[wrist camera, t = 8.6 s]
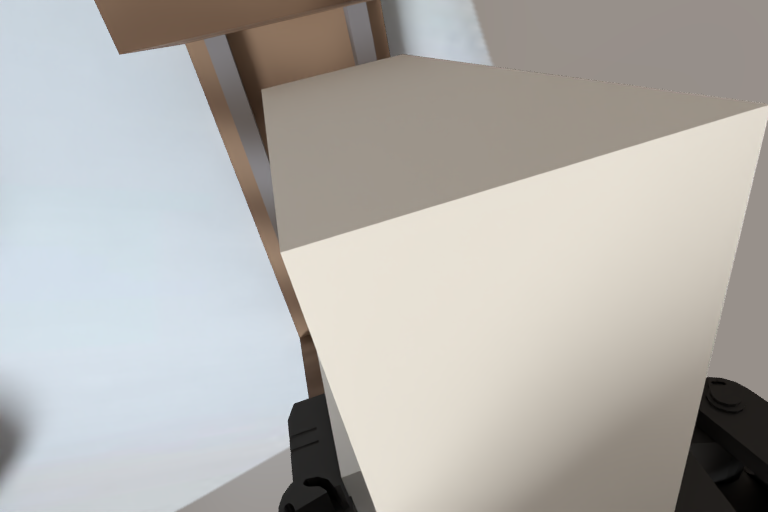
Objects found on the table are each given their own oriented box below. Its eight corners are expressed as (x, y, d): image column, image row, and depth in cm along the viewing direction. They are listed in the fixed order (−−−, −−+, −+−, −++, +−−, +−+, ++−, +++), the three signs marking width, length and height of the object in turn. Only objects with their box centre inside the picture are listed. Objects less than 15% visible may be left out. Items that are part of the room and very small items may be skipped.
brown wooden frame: (176, 10, 22) (87, -16, 10) (367, -32, 23) (483, -98, 11) (303, 340, 33) (331, 511, 21) (428, 299, 34) (519, 438, 22)
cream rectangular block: (261, 89, 12) (280, 253, 3) (402, 54, 12) (771, 103, 3) (381, 459, 19) (482, 798, 11) (464, 428, 20) (622, 728, 11)
